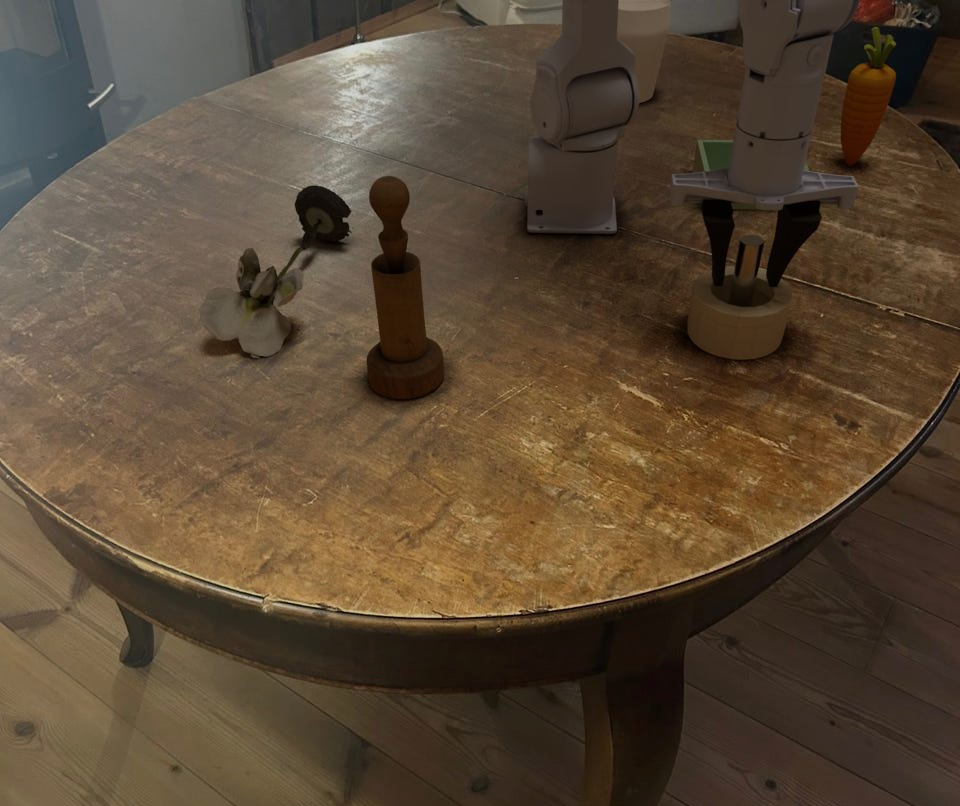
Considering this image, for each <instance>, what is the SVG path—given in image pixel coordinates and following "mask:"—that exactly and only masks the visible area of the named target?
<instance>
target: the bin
mask: <svg viewBox="0 0 960 806" xmlns="http://www.w3.org/2000/svg"><path fill="white" fill-rule="evenodd" d="M733 141H734V139H697V140H696V145H695V151H694V158H693V159H694V160H693V167H692V173H696V172H703V171H709V170H716V169H723V168H729V165H730V159H731V153H732V147H733ZM804 170H806V171H811V170H810V168H809V166H808V163H807V161H806V162H805V166H804ZM698 204H699V208H700V210H701V206H700V203H698ZM731 205H732V209H733V210H748V211H749V210H751V211H752V210H753V211H754V210H757V211H758V210H759V209H757V208H756V207H755V205H751V204H731ZM759 211H760V210H759Z"/></svg>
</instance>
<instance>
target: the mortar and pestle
mask: <svg viewBox="0 0 960 806" xmlns="http://www.w3.org/2000/svg"><path fill="white" fill-rule="evenodd" d="M410 198H411V196H410V191H409V188H408V186H407V184H406V182H404V181H403V180H402V179H401V178H399V177H397V176H393V175H385V176H384V175H383V176H381V177H378V178H377V179H376V180H375V181H374V182H373V183H372V184H371V187H370V188H369V193H368V201H369V205H370V208H372V210H373V212H374V213H375V214H376V216H377V217H378V218H379V220H380V221H381V225H382V226H383V228H382V229H383V230H382V231H381V232H379V234H378V235H377V239H378V243H379V245H380V248H381V250H382V252H383V253H381V254H379V255H377V256H374V258H373V259H372V260H371V264H370V267H371V268H370V269H371V277H372V284H373V292H374V301H375V309H376V317H377V326H378V335H379V342H378V343H376V344H375V345H374V346H372V347H371V349H370V350H369V351H368V352H367V355H366V368H367V377H368V383H369V385H370V387H371V389H372V390H373V391H374V392H375V393H377V394H379V395H380V396H383V397H386V398H390V399H397V400H409V399H415V398H419V397H422V396H425V395H427V394H429V393H431V392H432V391H434V390H436V389H437V388H438V387H439V386H440V385H441V384H442V383H443V380H444V378H445V363H444V352H443V350H442V347H441V345H440V344H439V343H438V342H437V341H435V340H433V339H432V338H429V337H427V329H426V320H425V319H426V318H425V308H424V296H423V283H422V282H423V281H422V270H421V269H422V268H421V259H420V258H419V257H418V256H417V255H415V254H414V253H412V252H408V251H407V249H408V243H409V233H408V232H407V230H405V229H404V228H403V224H402V220H403V218H404V216H405V215H406V213H407V210H408V208H409V205H410V201H411V199H410Z"/></svg>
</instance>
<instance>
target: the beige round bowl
mask: <svg viewBox="0 0 960 806" xmlns="http://www.w3.org/2000/svg"><path fill="white" fill-rule="evenodd" d="M734 269H735V265H726V268H725V277H724V282H723V285H722V286H714V284H713V279H712V268H711V269H708V270H707V271H705V272H703V273H701V274H699V275H698V276H697V278H696V279H695V280H694V282H693V284H692V290H691V296H690V301H689V309H688V314H687V328H686V330H687V335H688V337H689V339H690V340H691V342H692V343H693V344H694V345H695V346H696V347H698V348H699V349H701V350H702V351H704V352H705V353H708V354H710V355H713V356H716V357H718V358H724V359H728V360H738V361H739V360H743V361H744V360H746V361H747V360H755V359H760V358H763V357H767V356H768V355H770V354H772V353H774V352H776V350H777V349H778V348H779V347H780V345H781V343H782V340H783V338H784V335H785V331H786V326H787V322H788V318H789V314H790V309H791V306H792V301H793V297H794V296H793V293H792V289H791V287H790V285H789V284H788V283H786V281H785V280H783V279H782V278H781V280H780V282H779V284H778V287H769V284H768V280H767V277H766V271H767V270H765V269H761V268H759V270H758V275H757V280H756V285H755V290H754V295H753V300H752V304H751V307H739V306H735V305H730V304H728V301H729V296H730V290H731V285H732V280H733V274H734Z"/></svg>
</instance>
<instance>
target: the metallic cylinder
mask: <svg viewBox="0 0 960 806" xmlns="http://www.w3.org/2000/svg"><path fill="white" fill-rule="evenodd" d="M764 245H765V239H764V238H762V237H761V236H759V235H757V234H756V235H755V234H744V235H742V236H741V237H740V238H739V241H738V249H737V253H736V259H735V263H734V266H735V269H734V274H733V280H732V285H731V290H730V296H729V301H728V304H730V305H735V306H739V307H751V304H752V300H753V295H754V290H755V285H756V280H757V275H758V270H759V269H760V265H761V260H762V254H763V250H764Z"/></svg>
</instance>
